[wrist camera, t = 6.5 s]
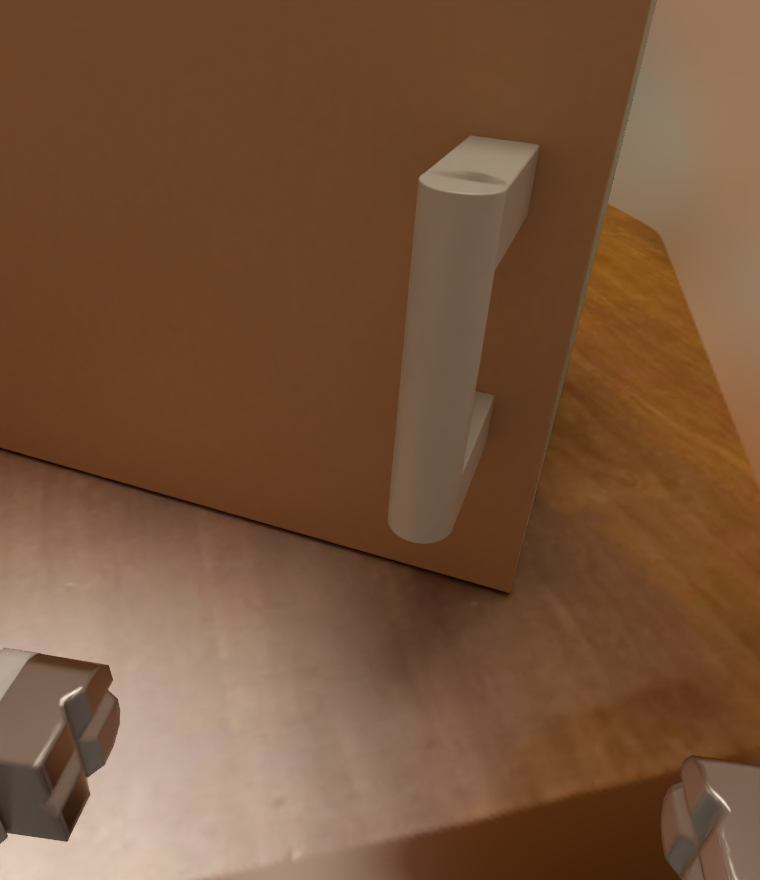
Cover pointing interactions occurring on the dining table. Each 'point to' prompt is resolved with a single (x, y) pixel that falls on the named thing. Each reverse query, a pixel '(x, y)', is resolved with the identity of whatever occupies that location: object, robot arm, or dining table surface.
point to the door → (306, 253)
